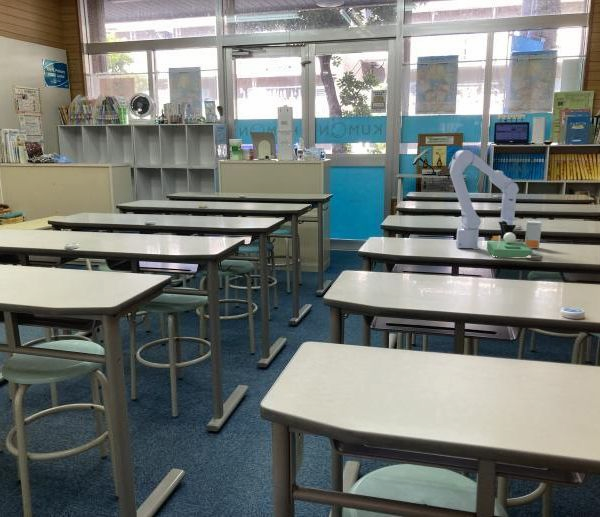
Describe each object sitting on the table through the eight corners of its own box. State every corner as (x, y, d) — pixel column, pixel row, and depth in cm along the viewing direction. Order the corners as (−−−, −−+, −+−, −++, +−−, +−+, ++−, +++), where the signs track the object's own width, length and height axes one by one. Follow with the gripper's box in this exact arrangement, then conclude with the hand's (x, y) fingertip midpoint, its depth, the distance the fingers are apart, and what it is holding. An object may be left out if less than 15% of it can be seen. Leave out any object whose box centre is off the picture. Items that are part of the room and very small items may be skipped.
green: (491, 257, 224) (493, 236, 222) (485, 248, 243) (486, 228, 242) (531, 259, 221) (533, 237, 219) (521, 249, 240) (523, 229, 239)
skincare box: (524, 248, 245) (526, 221, 242) (525, 246, 248) (527, 220, 246) (538, 249, 242) (541, 222, 239) (539, 247, 246) (541, 221, 243)
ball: (504, 244, 234) (504, 233, 233) (502, 242, 239) (503, 231, 238) (516, 244, 233) (517, 233, 232) (514, 242, 238) (514, 231, 237)
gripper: (520, 210, 234) (518, 241, 236) (514, 207, 248) (512, 236, 250) (503, 210, 235) (501, 241, 238) (498, 206, 249) (496, 235, 252)
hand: (505, 238), depth 244 cm, fingers open, 7 cm apart
